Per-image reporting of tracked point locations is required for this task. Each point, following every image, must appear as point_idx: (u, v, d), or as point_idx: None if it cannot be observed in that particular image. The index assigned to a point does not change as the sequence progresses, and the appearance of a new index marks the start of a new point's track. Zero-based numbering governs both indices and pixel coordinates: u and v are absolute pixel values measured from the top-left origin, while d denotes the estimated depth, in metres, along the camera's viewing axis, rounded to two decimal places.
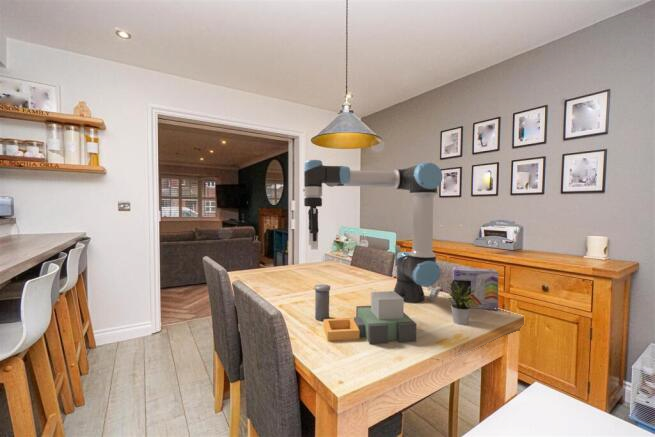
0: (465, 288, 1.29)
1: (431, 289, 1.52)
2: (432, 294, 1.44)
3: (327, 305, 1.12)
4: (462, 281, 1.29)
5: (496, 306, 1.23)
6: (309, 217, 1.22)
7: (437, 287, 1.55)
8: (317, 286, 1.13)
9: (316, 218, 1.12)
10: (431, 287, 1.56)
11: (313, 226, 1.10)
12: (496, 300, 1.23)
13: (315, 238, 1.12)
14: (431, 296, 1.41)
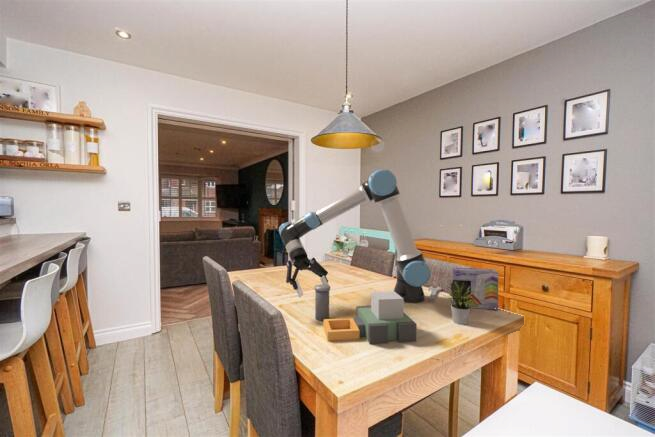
0: (465, 288, 1.29)
1: (432, 289, 1.51)
2: (433, 294, 1.44)
3: (327, 305, 1.12)
4: (462, 281, 1.29)
5: (496, 306, 1.23)
6: None
7: (438, 287, 1.55)
8: (317, 286, 1.13)
9: (288, 269, 1.17)
10: (432, 287, 1.55)
11: (286, 277, 1.16)
12: (496, 300, 1.23)
13: (294, 286, 1.13)
14: (432, 296, 1.40)
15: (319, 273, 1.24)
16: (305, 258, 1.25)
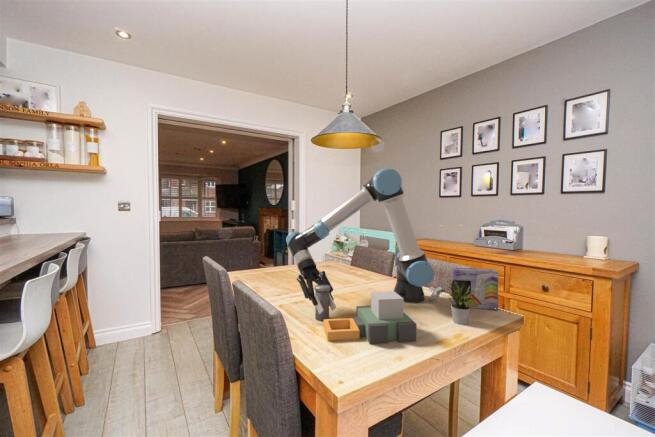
0: (465, 288, 1.29)
1: (432, 290, 1.51)
2: (434, 294, 1.43)
3: (327, 305, 1.12)
4: (462, 281, 1.29)
5: (496, 306, 1.23)
6: None
7: (438, 288, 1.54)
8: (317, 286, 1.13)
9: (302, 284, 1.13)
10: (432, 288, 1.54)
11: (304, 293, 1.12)
12: (496, 300, 1.23)
13: (313, 302, 1.10)
14: (433, 297, 1.40)
15: None
16: (315, 268, 1.22)
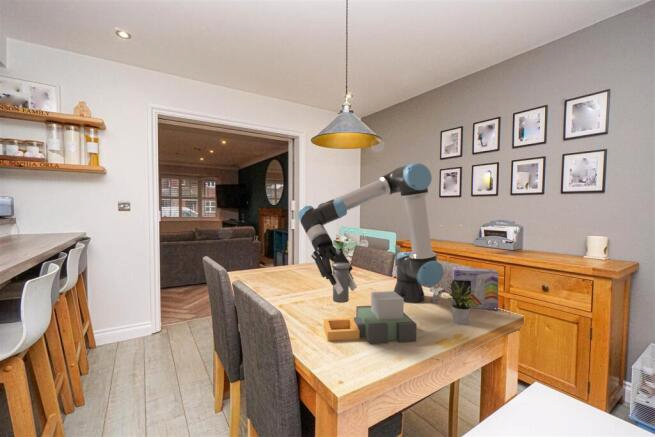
0: (465, 288, 1.29)
1: (433, 290, 1.50)
2: (436, 295, 1.42)
3: (347, 285, 0.98)
4: (462, 281, 1.29)
5: (496, 306, 1.23)
6: None
7: (439, 288, 1.54)
8: (335, 263, 1.00)
9: (318, 261, 1.00)
10: (433, 288, 1.54)
11: (320, 271, 0.98)
12: (496, 300, 1.23)
13: (332, 281, 0.97)
14: (435, 297, 1.39)
15: None
16: (331, 245, 1.08)
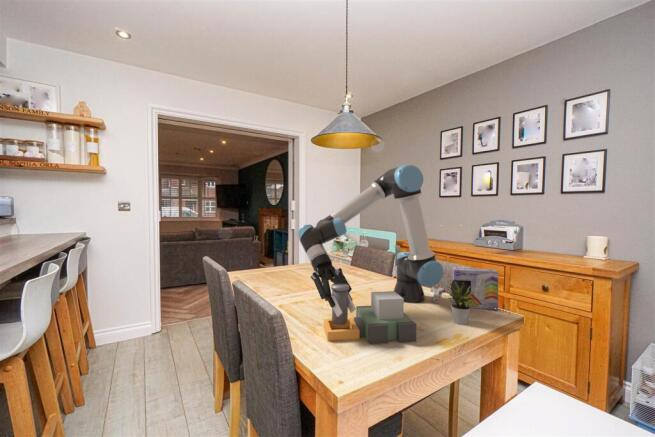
0: (465, 288, 1.29)
1: (434, 290, 1.49)
2: (436, 295, 1.42)
3: (346, 307, 0.98)
4: (462, 281, 1.29)
5: (496, 306, 1.23)
6: (330, 279, 1.06)
7: (440, 288, 1.53)
8: (334, 285, 1.00)
9: (318, 283, 1.00)
10: (434, 288, 1.53)
11: (320, 293, 0.99)
12: (496, 300, 1.23)
13: (331, 303, 0.97)
14: (435, 298, 1.38)
15: None
16: (330, 265, 1.08)
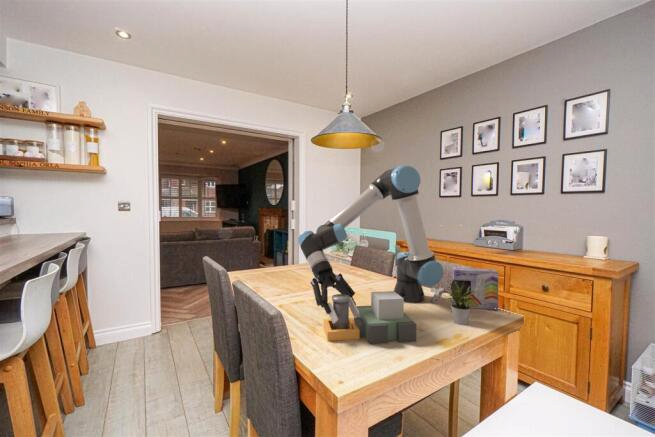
0: (465, 288, 1.29)
1: (434, 291, 1.49)
2: (436, 295, 1.41)
3: (347, 318, 0.99)
4: (462, 281, 1.29)
5: (496, 306, 1.23)
6: None
7: (440, 288, 1.53)
8: (335, 296, 1.00)
9: (316, 289, 1.00)
10: (434, 288, 1.53)
11: (316, 299, 0.98)
12: (496, 300, 1.23)
13: (327, 310, 0.96)
14: (435, 298, 1.38)
15: (345, 293, 1.05)
16: (331, 272, 1.08)
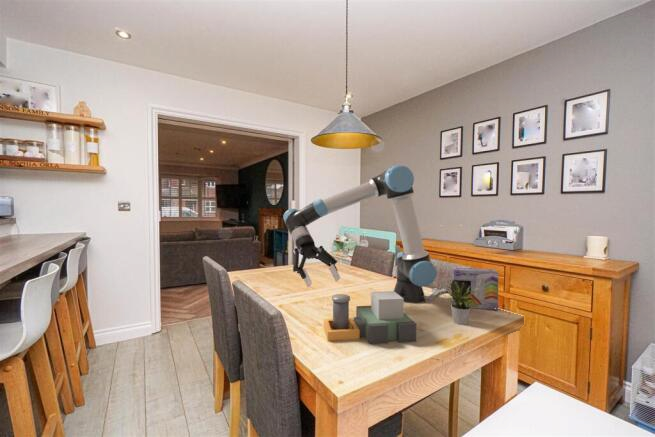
0: (465, 288, 1.29)
1: (434, 291, 1.49)
2: (433, 295, 1.42)
3: (347, 318, 0.99)
4: (462, 281, 1.29)
5: (496, 306, 1.23)
6: (314, 257, 1.16)
7: (442, 289, 1.51)
8: (335, 296, 1.00)
9: (295, 257, 1.09)
10: (436, 289, 1.52)
11: (293, 266, 1.07)
12: (496, 300, 1.23)
13: (302, 275, 1.05)
14: (430, 297, 1.39)
15: (328, 262, 1.15)
16: (312, 246, 1.17)
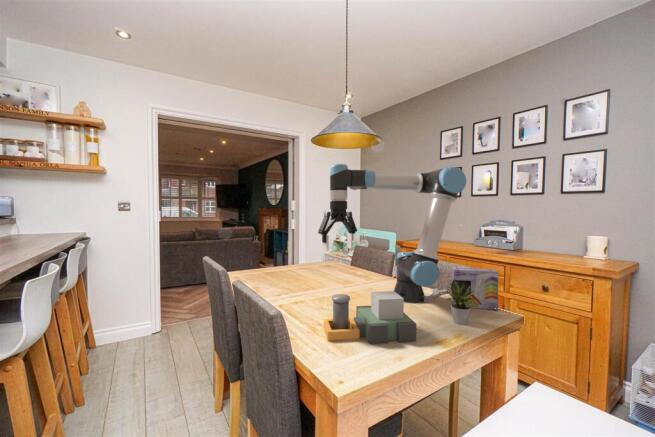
0: (465, 288, 1.29)
1: (435, 291, 1.48)
2: (432, 296, 1.41)
3: (347, 318, 0.99)
4: (462, 281, 1.29)
5: (496, 306, 1.23)
6: None
7: (443, 290, 1.50)
8: (335, 296, 1.00)
9: (325, 221, 1.17)
10: (436, 289, 1.51)
11: (320, 228, 1.17)
12: (496, 300, 1.23)
13: (323, 240, 1.17)
14: (429, 298, 1.38)
15: (349, 229, 1.26)
16: (343, 211, 1.23)
